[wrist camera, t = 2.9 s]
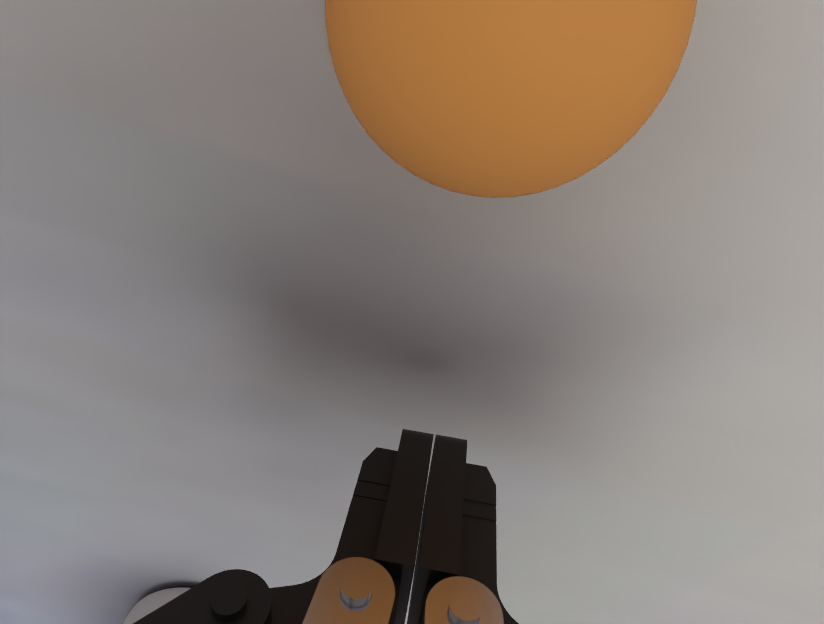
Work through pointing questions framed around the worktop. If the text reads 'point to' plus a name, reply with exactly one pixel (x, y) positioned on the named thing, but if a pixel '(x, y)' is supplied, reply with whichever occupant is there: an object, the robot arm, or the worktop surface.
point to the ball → (505, 83)
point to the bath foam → (152, 603)
